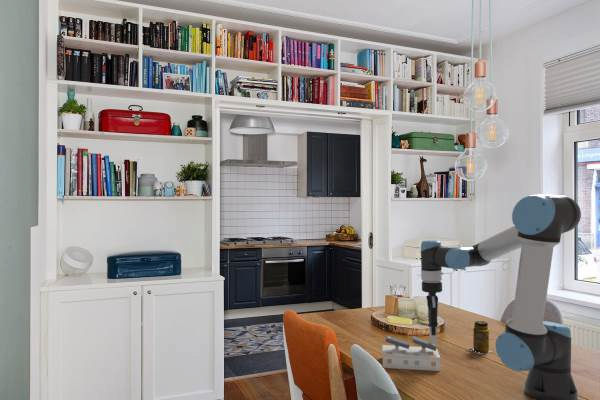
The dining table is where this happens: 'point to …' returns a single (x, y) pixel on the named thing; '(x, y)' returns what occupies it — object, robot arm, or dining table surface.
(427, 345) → the rocker
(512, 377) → the dining table surface
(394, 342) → the rocker
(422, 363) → the switch unit
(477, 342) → the condiment
